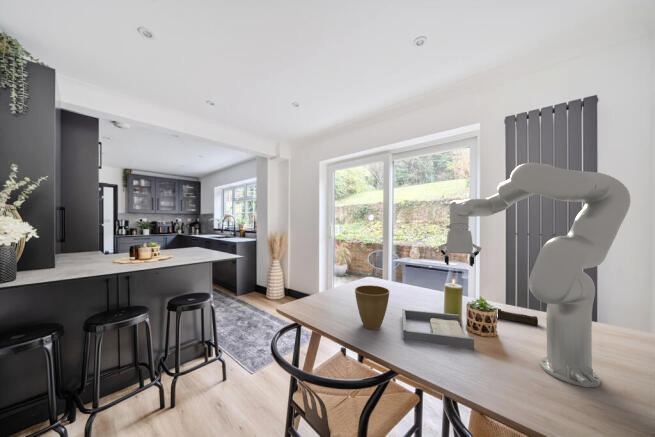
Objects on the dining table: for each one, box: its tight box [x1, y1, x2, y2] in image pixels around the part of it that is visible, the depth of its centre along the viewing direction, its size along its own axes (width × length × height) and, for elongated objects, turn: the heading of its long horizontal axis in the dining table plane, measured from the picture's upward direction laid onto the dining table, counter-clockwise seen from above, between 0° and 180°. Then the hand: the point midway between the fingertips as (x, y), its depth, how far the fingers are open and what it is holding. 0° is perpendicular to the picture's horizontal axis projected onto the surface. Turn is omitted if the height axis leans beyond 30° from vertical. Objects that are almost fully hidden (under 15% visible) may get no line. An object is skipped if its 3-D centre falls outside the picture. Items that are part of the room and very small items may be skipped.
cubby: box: [401, 309, 475, 350], centre depth 99 cm, size 22×24×4 cm
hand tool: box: [497, 308, 539, 327], centre depth 108 cm, size 19×4×5 cm, turn 53°
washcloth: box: [429, 318, 466, 337], centre depth 97 cm, size 12×18×3 cm, turn 162°
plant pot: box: [354, 284, 390, 331], centre depth 104 cm, size 15×15×16 cm
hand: (459, 265), depth 108 cm, fingers open, 9 cm apart
